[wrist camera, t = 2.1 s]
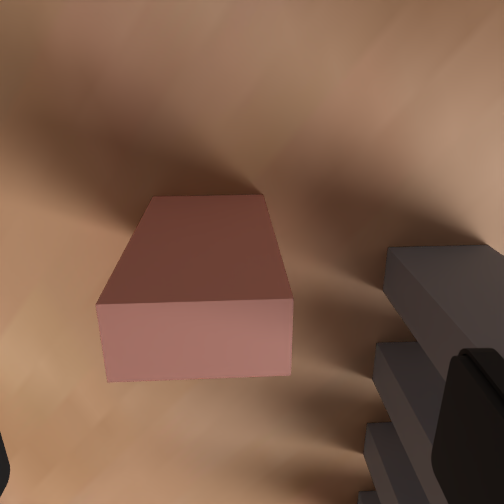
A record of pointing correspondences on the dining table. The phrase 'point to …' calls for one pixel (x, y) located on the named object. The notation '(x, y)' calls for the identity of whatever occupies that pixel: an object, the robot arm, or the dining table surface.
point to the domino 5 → (391, 466)
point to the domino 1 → (198, 294)
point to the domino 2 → (368, 497)
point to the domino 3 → (448, 298)
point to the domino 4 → (412, 405)
